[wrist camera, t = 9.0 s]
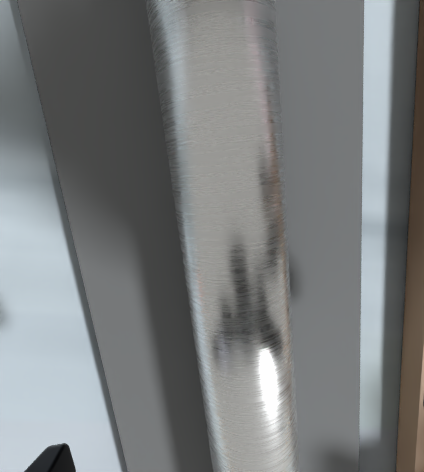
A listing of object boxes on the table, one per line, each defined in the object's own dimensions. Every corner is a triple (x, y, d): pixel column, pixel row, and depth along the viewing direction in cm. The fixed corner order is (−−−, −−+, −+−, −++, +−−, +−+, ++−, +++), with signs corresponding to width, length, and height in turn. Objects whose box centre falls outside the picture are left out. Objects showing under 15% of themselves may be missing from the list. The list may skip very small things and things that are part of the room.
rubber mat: (354, -73, 8) (365, -88, 8) (351, 548, 14) (357, 561, 14) (12, -52, 8) (1, -66, 7) (160, 589, 14) (159, 605, 13)
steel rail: (119, -181, 7) (88, -403, 4) (240, -180, 7) (284, -389, 4) (234, 621, 14) (250, 732, 11) (293, 604, 14) (322, 708, 11)
